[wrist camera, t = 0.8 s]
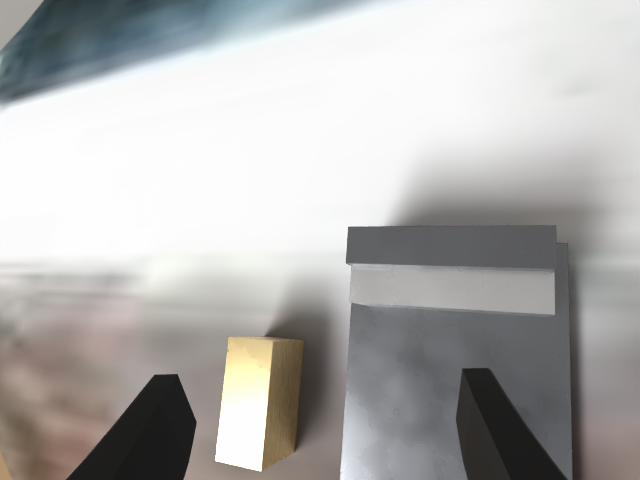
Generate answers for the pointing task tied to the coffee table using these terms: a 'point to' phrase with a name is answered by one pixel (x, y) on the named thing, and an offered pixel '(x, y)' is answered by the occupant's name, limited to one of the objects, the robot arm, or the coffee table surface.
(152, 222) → the coffee table surface
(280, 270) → the coffee table surface
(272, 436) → the brass block
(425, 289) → the grey slab
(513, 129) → the coffee table surface
